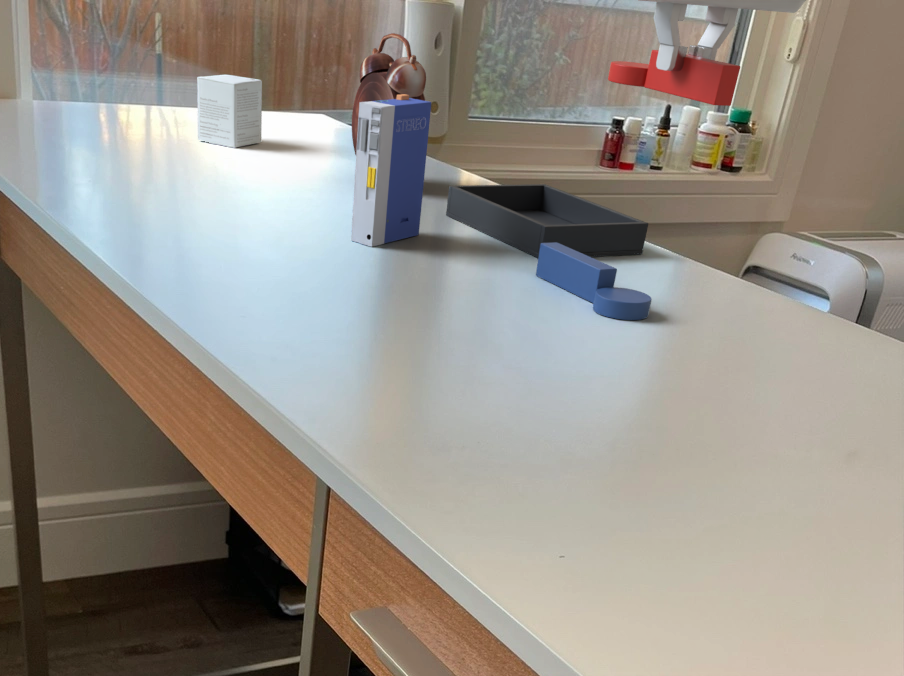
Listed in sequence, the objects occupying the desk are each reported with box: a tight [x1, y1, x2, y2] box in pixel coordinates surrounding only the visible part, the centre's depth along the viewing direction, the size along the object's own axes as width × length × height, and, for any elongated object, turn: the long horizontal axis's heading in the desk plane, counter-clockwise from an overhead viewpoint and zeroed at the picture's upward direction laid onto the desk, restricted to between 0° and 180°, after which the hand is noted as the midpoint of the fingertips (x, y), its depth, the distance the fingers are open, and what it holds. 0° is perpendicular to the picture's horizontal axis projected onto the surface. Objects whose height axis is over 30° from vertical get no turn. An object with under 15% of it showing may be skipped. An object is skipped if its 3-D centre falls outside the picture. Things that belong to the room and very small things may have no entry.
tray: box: [445, 183, 649, 259], centre depth 114 cm, size 18×12×3 cm
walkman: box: [350, 94, 432, 247], centre depth 104 cm, size 8×3×12 cm, turn 143°
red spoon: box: [607, 49, 741, 107], centre depth 93 cm, size 14×5×3 cm, turn 27°
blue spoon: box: [535, 242, 653, 321], centre depth 95 cm, size 14×5×3 cm, turn 26°
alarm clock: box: [351, 33, 427, 156], centre depth 126 cm, size 11×5×15 cm, turn 28°
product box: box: [196, 74, 263, 149], centre depth 143 cm, size 6×6×7 cm
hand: (683, 71), depth 92 cm, fingers closed on red spoon, 2 cm apart
